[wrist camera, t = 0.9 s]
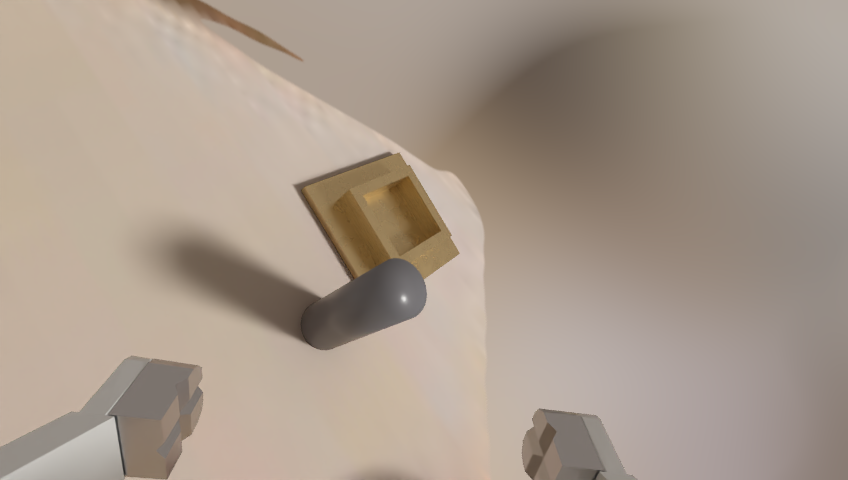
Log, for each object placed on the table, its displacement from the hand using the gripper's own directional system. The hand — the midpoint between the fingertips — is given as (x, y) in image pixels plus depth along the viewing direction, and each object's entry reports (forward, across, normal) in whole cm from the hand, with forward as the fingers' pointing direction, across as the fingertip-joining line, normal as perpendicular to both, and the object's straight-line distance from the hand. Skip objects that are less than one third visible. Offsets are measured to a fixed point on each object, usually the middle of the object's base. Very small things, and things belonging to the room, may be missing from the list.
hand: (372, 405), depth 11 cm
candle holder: (+42, 0, +15) cm, 44 cm away
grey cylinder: (+28, +4, +21) cm, 35 cm away
